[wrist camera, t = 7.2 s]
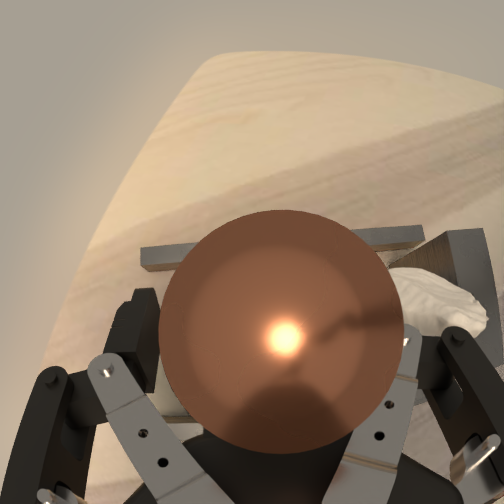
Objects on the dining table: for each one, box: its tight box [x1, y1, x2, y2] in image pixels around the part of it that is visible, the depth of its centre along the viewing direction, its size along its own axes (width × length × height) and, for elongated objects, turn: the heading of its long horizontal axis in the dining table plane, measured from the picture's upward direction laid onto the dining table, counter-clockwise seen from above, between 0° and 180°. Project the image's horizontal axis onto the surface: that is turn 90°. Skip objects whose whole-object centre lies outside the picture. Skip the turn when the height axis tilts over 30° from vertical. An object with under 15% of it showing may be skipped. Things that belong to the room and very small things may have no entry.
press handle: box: [159, 210, 404, 454], centre depth 13 cm, size 5×8×17 cm, turn 5°
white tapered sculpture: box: [387, 267, 489, 338], centre depth 15 cm, size 6×12×6 cm
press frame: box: [141, 225, 504, 441], centre depth 17 cm, size 20×13×8 cm, turn 96°
